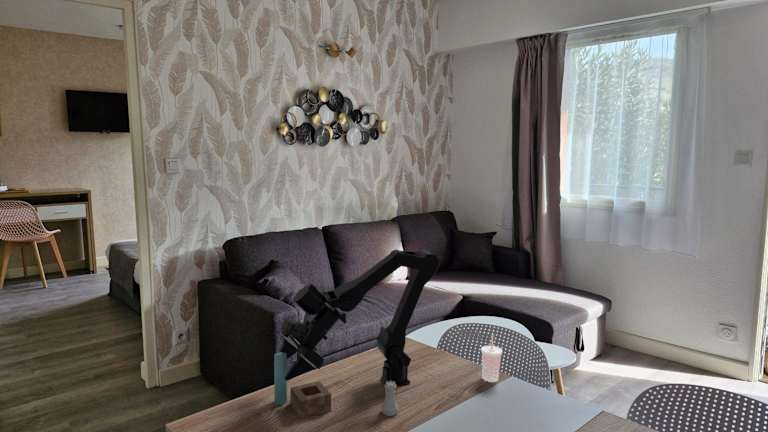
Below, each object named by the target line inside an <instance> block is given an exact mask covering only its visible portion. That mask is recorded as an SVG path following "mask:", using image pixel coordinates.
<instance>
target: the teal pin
mask: <svg viewBox="0 0 768 432" xmlns="http://www.w3.org/2000/svg"><path fill="white" fill-rule="evenodd" d="M273 355H274V356H273V357H274V358H273V359H274V362H273V370H274V371H273V375H274V376H273V377H274V379H273V380H274V381H273V383H274V384H273V385H274V390H273V391H274V405H277V406H283V405H286V404H287V402H288V381H286V380H285V379H284V378H285V376H286V375H287V373H288V363H287V362H288V359H287V354H286V353H282V352H281V353H279V352H277V353H275V354H273Z"/></svg>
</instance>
